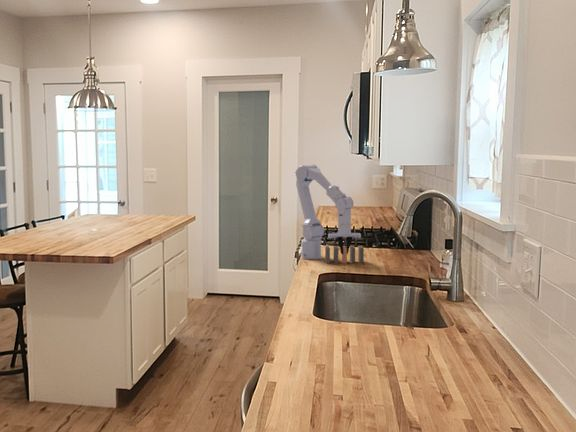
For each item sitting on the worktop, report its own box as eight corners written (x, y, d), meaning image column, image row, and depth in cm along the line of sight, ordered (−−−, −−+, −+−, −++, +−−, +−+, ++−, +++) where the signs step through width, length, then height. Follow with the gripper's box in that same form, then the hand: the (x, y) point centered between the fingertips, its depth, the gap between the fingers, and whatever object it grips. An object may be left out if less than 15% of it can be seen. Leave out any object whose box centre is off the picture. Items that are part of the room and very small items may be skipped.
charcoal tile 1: (360, 263, 223) (360, 247, 222) (358, 260, 228) (358, 245, 227) (363, 263, 223) (363, 247, 223) (361, 260, 228) (361, 245, 227)
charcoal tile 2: (351, 263, 223) (351, 247, 222) (350, 260, 228) (350, 245, 227) (355, 263, 223) (355, 247, 222) (353, 260, 228) (353, 245, 227)
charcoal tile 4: (334, 263, 223) (335, 248, 222) (333, 261, 228) (333, 246, 227) (338, 263, 223) (338, 248, 222) (336, 261, 228) (336, 246, 227)
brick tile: (343, 263, 223) (343, 248, 222) (342, 261, 228) (342, 246, 227) (346, 263, 223) (346, 248, 222) (345, 261, 228) (345, 246, 227)
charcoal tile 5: (326, 263, 223) (326, 248, 222) (325, 261, 228) (325, 246, 227) (329, 263, 223) (329, 248, 222) (328, 261, 228) (328, 246, 227)
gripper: (329, 225, 219) (329, 255, 221) (362, 224, 220) (362, 255, 221) (327, 223, 226) (327, 252, 228) (359, 222, 227) (359, 252, 228)
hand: (344, 253), depth 225 cm, fingers closed on brick tile, 1 cm apart
